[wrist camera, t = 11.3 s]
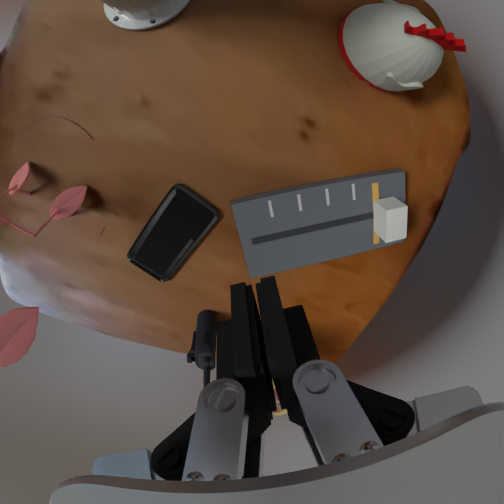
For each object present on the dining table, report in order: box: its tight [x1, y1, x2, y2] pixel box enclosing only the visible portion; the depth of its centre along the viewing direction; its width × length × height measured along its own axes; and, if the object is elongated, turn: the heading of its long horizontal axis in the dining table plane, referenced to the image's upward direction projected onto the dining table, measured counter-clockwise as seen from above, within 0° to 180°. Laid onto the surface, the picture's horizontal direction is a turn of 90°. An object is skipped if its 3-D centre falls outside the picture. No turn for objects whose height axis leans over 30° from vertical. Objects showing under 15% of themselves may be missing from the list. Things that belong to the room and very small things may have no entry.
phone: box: [127, 183, 218, 282], centre depth 40 cm, size 8×1×15 cm
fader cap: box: [373, 197, 408, 243], centre depth 37 cm, size 5×4×4 cm
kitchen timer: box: [339, 0, 466, 91], centre depth 22 cm, size 14×14×15 cm
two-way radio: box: [187, 311, 217, 387], centre depth 42 cm, size 6×4×15 cm
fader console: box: [231, 168, 405, 278], centre depth 40 cm, size 12×26×2 cm, turn 102°
